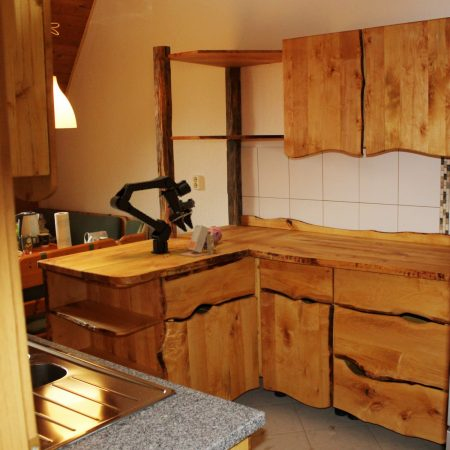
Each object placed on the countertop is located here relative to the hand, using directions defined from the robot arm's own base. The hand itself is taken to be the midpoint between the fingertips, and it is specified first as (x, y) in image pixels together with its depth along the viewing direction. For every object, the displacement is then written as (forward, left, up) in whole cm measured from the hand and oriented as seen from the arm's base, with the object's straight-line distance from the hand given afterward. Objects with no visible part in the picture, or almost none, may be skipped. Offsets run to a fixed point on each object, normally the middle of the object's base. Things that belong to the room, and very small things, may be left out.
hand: (189, 230), depth 287 cm
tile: (-4, -7, -10) cm, 13 cm away
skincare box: (-4, -7, -9) cm, 12 cm away
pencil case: (+16, +6, -11) cm, 20 cm away
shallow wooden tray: (+6, -8, -10) cm, 14 cm away
